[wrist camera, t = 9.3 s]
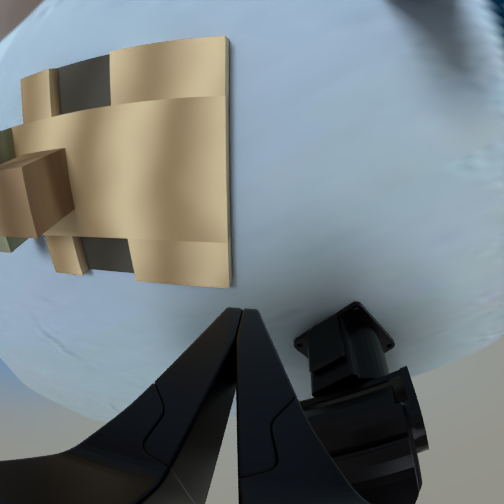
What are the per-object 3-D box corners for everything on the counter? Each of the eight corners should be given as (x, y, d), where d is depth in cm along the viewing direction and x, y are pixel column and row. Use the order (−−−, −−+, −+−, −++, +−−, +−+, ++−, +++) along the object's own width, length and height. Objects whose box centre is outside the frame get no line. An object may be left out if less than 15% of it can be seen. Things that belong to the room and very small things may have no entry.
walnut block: (64, 147, 17) (21, 167, 13) (74, 209, 20) (37, 238, 16) (22, 154, 18) (-19, 174, 14) (33, 209, 20) (-3, 236, 16)
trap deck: (228, 39, 15) (213, 26, 11) (231, 278, 23) (222, 317, 19) (7, 87, 16) (-30, 95, 12) (40, 262, 24) (14, 288, 20)
